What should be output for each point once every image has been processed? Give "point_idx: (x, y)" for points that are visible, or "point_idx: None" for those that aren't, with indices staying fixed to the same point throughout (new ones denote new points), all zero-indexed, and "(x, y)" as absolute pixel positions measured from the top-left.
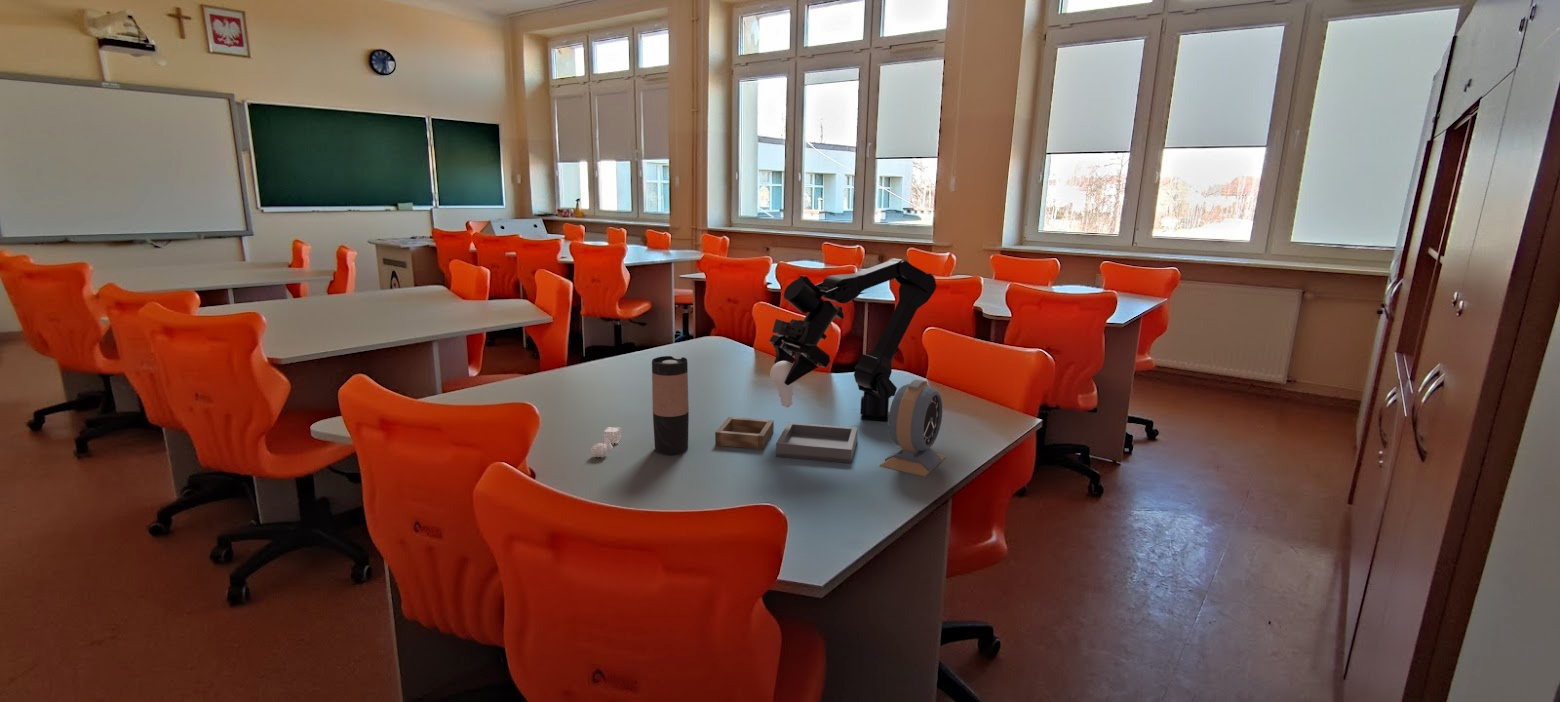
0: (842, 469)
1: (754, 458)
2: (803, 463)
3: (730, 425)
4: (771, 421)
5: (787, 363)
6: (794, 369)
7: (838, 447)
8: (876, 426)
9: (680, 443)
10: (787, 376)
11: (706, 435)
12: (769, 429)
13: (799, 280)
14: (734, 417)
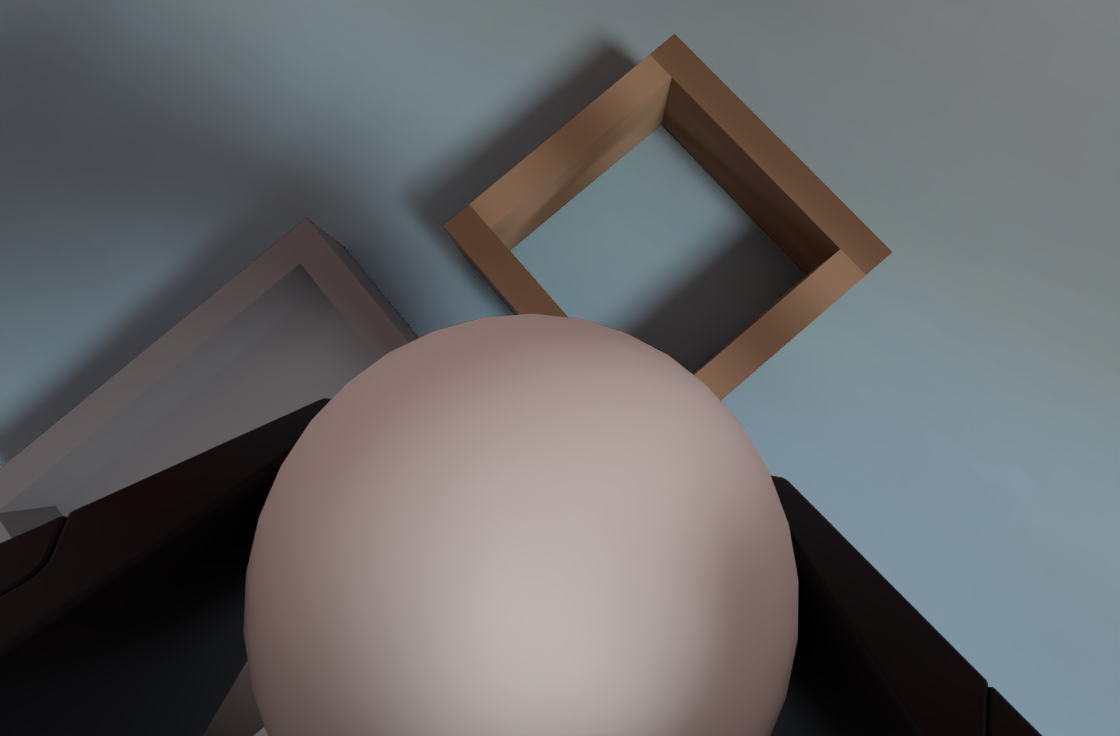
0: (17, 408)
1: (392, 148)
2: (192, 303)
3: (800, 233)
4: None
5: (323, 647)
6: (19, 548)
7: (24, 470)
8: None
9: None
10: (271, 443)
11: (824, 121)
12: None
13: None
14: (857, 279)
